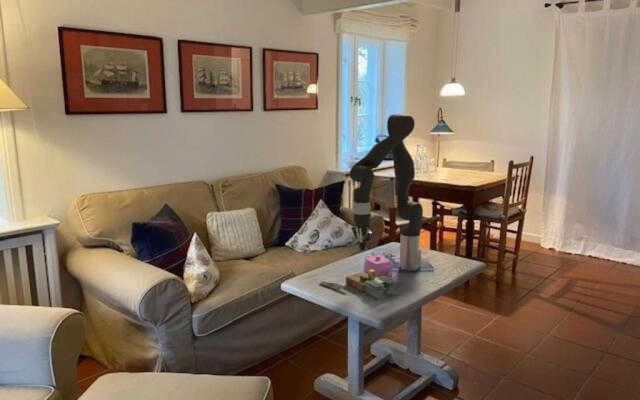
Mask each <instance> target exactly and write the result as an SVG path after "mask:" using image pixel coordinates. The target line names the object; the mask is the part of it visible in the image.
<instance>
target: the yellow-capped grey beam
mask: <svg viewBox="0 0 640 400" xmlns="http://www.w3.org/2000/svg"><path fill="white" fill-rule="evenodd" d="M371 279H372V280H374V281H377V282H379V283H381V284H383V285H384V286H385V282H384V281H382V280H380V279H378V278H375V270H373V269H372V270H369V277H368V280H371Z"/></svg>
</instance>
